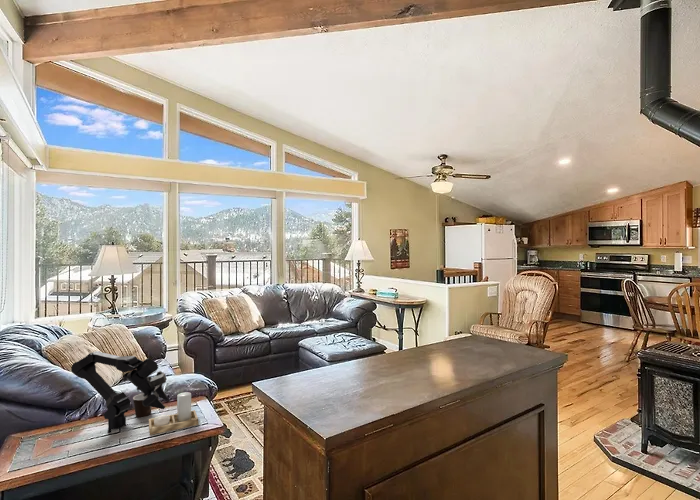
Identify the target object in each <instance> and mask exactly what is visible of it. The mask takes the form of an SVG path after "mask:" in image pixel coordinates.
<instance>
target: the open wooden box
mask: <svg viewBox="0 0 700 500" xmlns="http://www.w3.org/2000/svg"><path fill="white" fill-rule="evenodd" d="M168 416H170V424H169V425H164V426H159V427H154V419H155V418H156V417H154V418H153V417H152V418H149V419H148V430H149V433H148V434H149V435H150V436H151V435H156V434H160V433H167V432H170V431H175V430H179V429H183V428H184V429H185V428H189V427H193V426H198V425H199V417H198V415H197V412H196V410H191V420H188V421H183V422H178V421H177V413H173V414H169V415H168Z"/></svg>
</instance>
